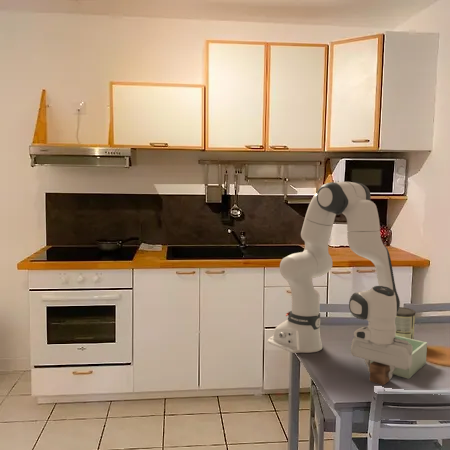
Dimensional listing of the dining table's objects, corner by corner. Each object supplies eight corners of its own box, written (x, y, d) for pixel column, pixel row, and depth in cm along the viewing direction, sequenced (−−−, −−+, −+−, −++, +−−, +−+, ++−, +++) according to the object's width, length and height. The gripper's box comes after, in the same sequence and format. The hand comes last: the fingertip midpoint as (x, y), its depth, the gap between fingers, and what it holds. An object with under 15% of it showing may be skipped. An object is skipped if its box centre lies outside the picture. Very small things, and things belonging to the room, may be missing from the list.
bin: (369, 367, 172) (370, 346, 171) (389, 354, 186) (389, 334, 185) (408, 378, 163) (409, 356, 162) (425, 363, 177) (427, 342, 176)
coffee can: (383, 339, 203) (385, 306, 201) (407, 339, 203) (409, 306, 202) (393, 347, 193) (394, 314, 191) (418, 347, 193) (420, 313, 191)
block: (369, 380, 161) (370, 363, 161) (375, 376, 165) (376, 359, 165) (383, 385, 158) (384, 367, 158) (389, 380, 162) (390, 363, 161)
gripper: (416, 339, 156) (414, 380, 157) (357, 326, 169) (356, 364, 170) (409, 344, 151) (407, 386, 152) (349, 330, 164) (348, 369, 166)
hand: (379, 374), depth 161 cm, fingers closed on block, 5 cm apart
